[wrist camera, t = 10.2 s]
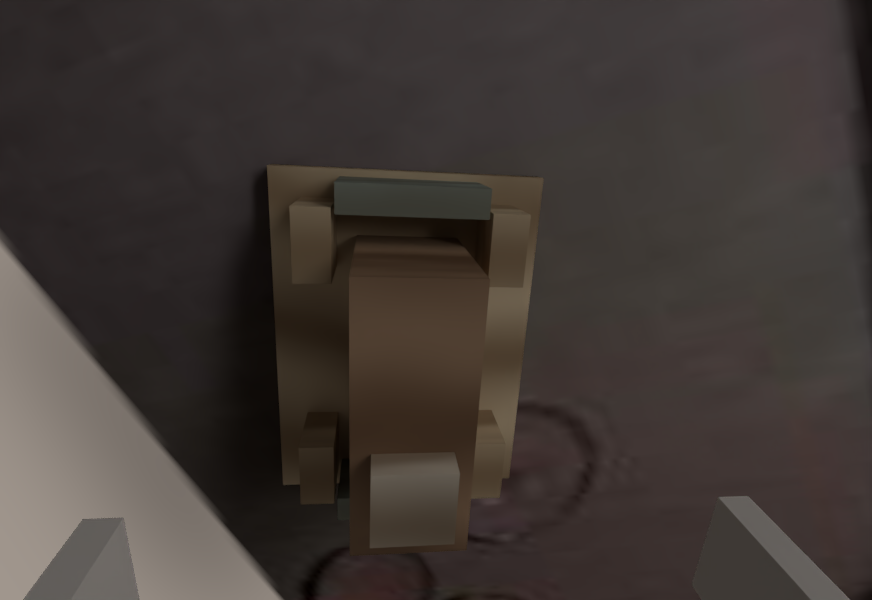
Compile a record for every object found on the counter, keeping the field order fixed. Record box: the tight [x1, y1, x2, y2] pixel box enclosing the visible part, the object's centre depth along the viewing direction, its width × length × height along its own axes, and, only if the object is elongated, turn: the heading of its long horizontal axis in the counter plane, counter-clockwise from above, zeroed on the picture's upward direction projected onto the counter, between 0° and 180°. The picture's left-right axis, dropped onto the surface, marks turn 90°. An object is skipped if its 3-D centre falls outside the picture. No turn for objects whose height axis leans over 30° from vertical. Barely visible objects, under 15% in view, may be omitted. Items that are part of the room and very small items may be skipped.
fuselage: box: [349, 235, 490, 556], centre depth 20 cm, size 11×4×8 cm, turn 177°
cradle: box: [267, 164, 544, 520], centre depth 23 cm, size 16×12×4 cm
